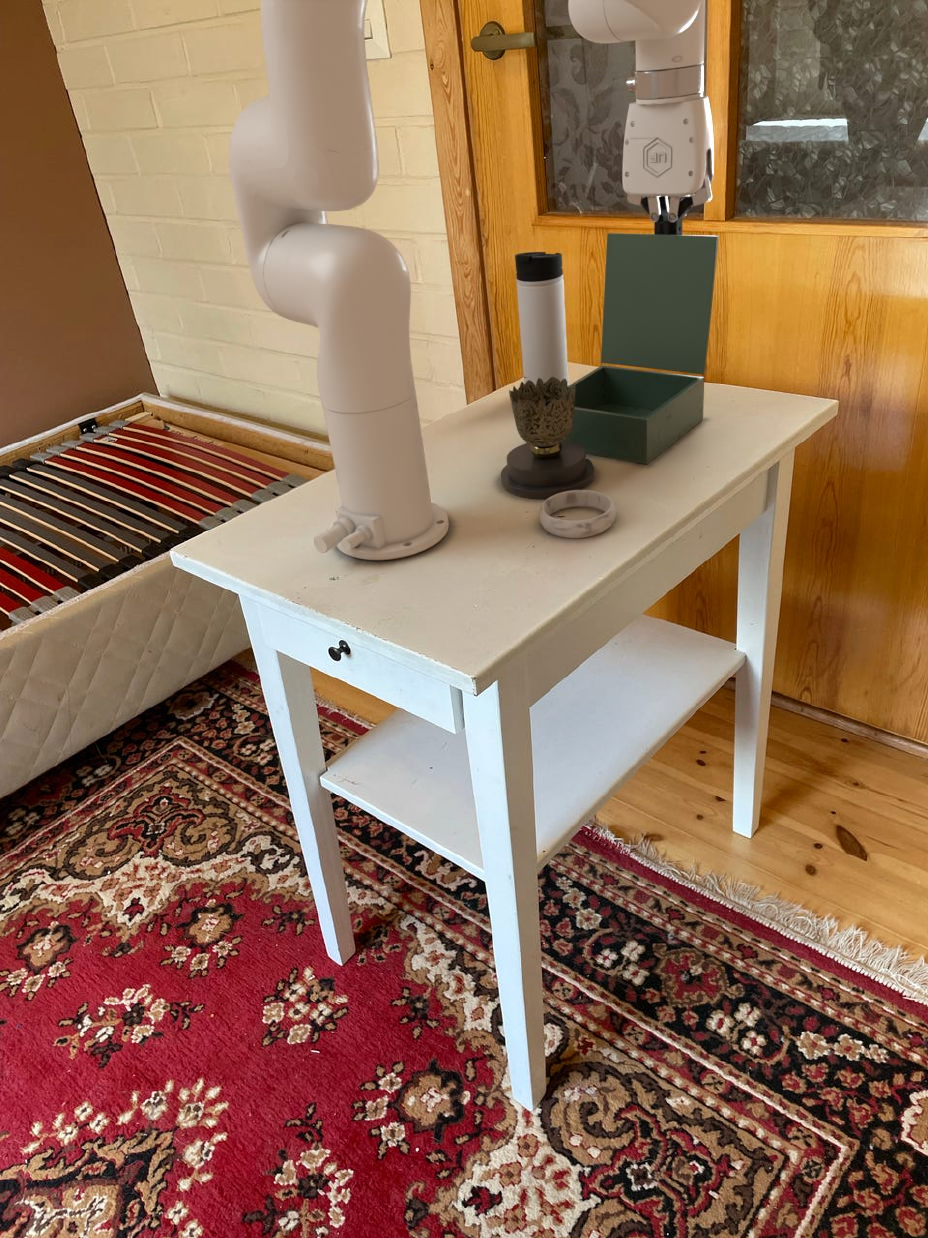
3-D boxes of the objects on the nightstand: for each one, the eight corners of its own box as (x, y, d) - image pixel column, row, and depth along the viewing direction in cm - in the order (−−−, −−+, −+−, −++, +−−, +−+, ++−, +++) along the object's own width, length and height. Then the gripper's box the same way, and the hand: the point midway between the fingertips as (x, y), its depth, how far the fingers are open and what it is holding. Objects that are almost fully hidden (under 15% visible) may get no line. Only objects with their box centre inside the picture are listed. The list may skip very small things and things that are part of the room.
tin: (647, 464, 110) (646, 419, 107) (542, 446, 119) (539, 403, 116) (703, 419, 120) (704, 376, 117) (603, 405, 128) (601, 364, 125)
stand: (562, 506, 104) (560, 481, 102) (482, 488, 110) (480, 465, 108) (611, 467, 111) (611, 444, 109) (534, 453, 117) (532, 430, 115)
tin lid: (717, 236, 110) (719, 235, 110) (607, 233, 118) (609, 232, 118) (703, 374, 117) (705, 373, 117) (600, 362, 125) (602, 361, 125)
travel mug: (514, 401, 133) (502, 254, 122) (542, 386, 137) (533, 243, 126) (550, 408, 129) (541, 257, 119) (577, 392, 133) (571, 245, 123)
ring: (564, 499, 105) (563, 483, 104) (629, 512, 101) (629, 495, 100) (525, 530, 100) (524, 513, 99) (592, 545, 95) (591, 528, 94)
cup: (503, 452, 111) (497, 386, 106) (558, 436, 113) (554, 371, 108) (533, 473, 105) (528, 404, 100) (590, 456, 107) (588, 388, 103)
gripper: (595, 93, 109) (600, 258, 118) (717, 85, 100) (711, 263, 110) (627, 85, 113) (629, 245, 123) (745, 77, 105) (737, 248, 115)
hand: (668, 253), depth 117 cm, fingers closed
